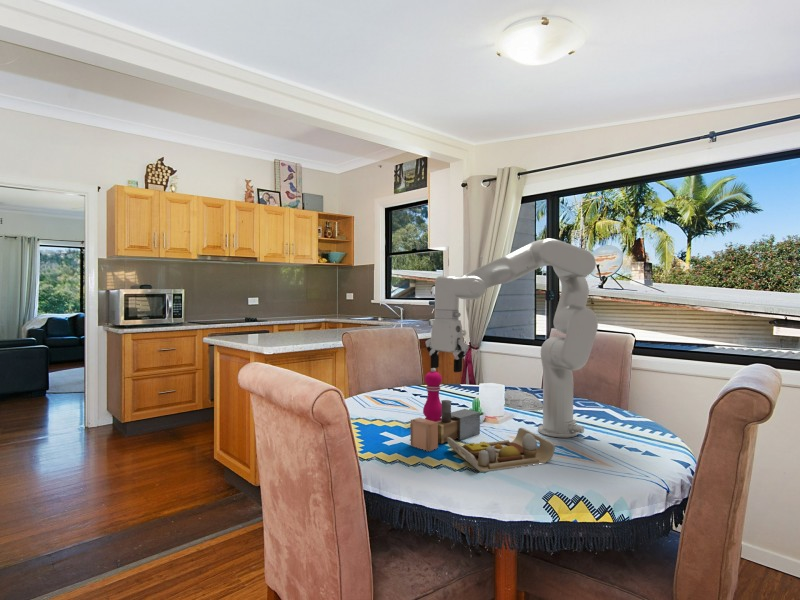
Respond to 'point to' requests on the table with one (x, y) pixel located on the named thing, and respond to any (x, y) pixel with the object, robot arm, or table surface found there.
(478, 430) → the sleeve
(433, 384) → the pepper mill
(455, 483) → the table surface
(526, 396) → the grey carved stone
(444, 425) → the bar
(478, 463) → the toy food set
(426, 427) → the brown block
